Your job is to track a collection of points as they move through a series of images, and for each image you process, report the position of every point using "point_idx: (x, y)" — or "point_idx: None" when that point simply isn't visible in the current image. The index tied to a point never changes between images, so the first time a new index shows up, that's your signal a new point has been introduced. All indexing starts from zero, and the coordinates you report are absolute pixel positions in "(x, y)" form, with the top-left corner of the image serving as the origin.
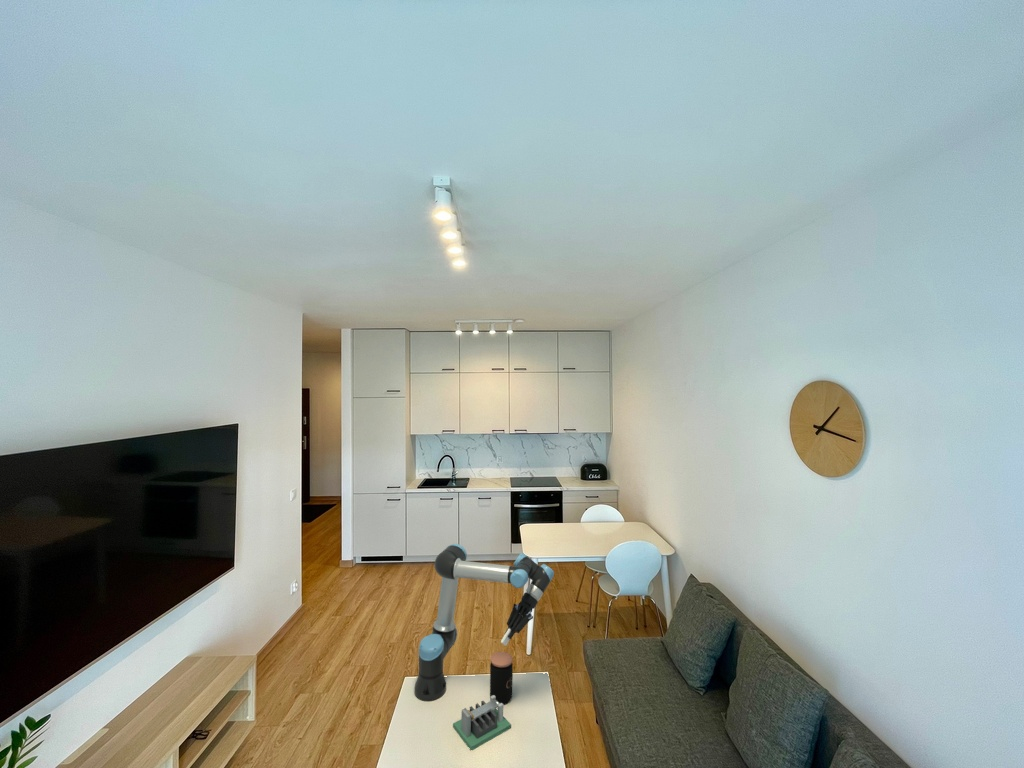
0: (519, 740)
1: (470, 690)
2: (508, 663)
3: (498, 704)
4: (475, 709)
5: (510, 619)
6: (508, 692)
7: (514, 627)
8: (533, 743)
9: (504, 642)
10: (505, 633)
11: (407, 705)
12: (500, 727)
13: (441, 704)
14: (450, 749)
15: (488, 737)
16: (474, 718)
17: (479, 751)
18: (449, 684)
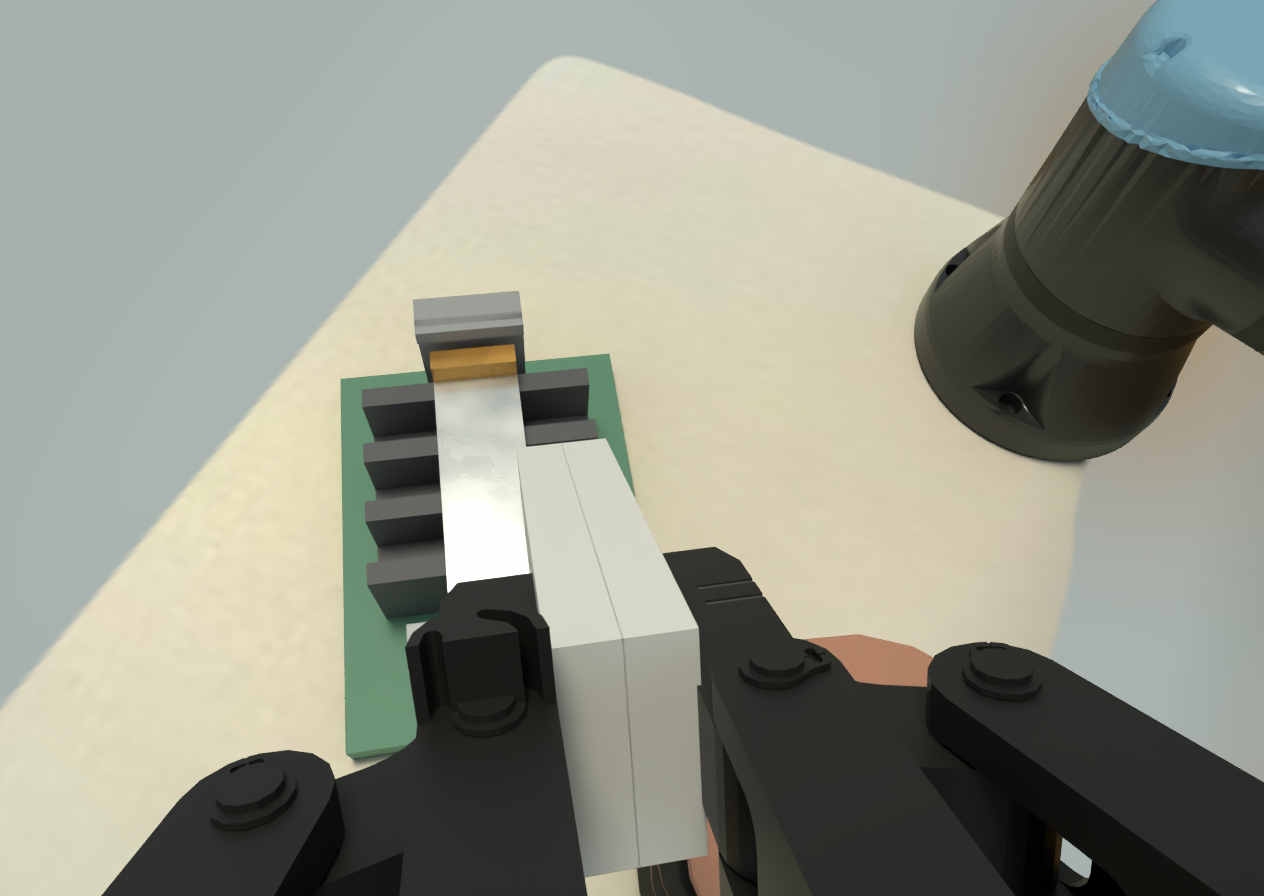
0: (190, 761)
1: (942, 623)
2: (703, 870)
3: None
4: (519, 430)
5: (1160, 869)
6: (648, 885)
7: (414, 805)
8: (74, 868)
9: (523, 514)
10: (705, 569)
11: (921, 201)
12: (371, 647)
13: (855, 373)
14: (436, 296)
15: (343, 519)
16: (434, 390)
17: (306, 439)
18: (1065, 494)
